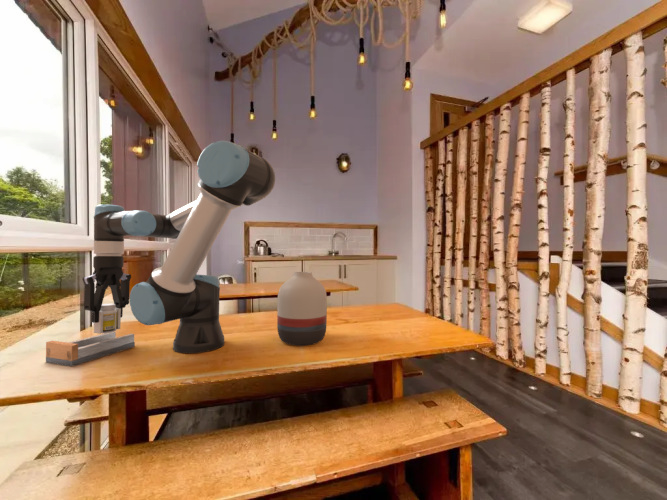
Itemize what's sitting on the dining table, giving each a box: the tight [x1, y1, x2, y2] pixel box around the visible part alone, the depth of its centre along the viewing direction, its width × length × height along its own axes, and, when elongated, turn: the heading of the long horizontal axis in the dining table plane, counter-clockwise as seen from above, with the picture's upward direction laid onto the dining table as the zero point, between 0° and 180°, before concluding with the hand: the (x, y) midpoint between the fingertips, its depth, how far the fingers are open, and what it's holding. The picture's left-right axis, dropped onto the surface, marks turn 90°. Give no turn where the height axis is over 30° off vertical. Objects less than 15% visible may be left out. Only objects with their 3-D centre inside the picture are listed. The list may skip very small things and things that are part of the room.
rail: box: [45, 331, 136, 367], centre depth 90 cm, size 10×18×6 cm, turn 163°
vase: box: [276, 271, 328, 347], centre depth 105 cm, size 17×17×24 cm
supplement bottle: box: [100, 303, 118, 334], centre depth 94 cm, size 5×5×8 cm
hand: (107, 330), depth 94 cm, fingers closed on supplement bottle, 5 cm apart
